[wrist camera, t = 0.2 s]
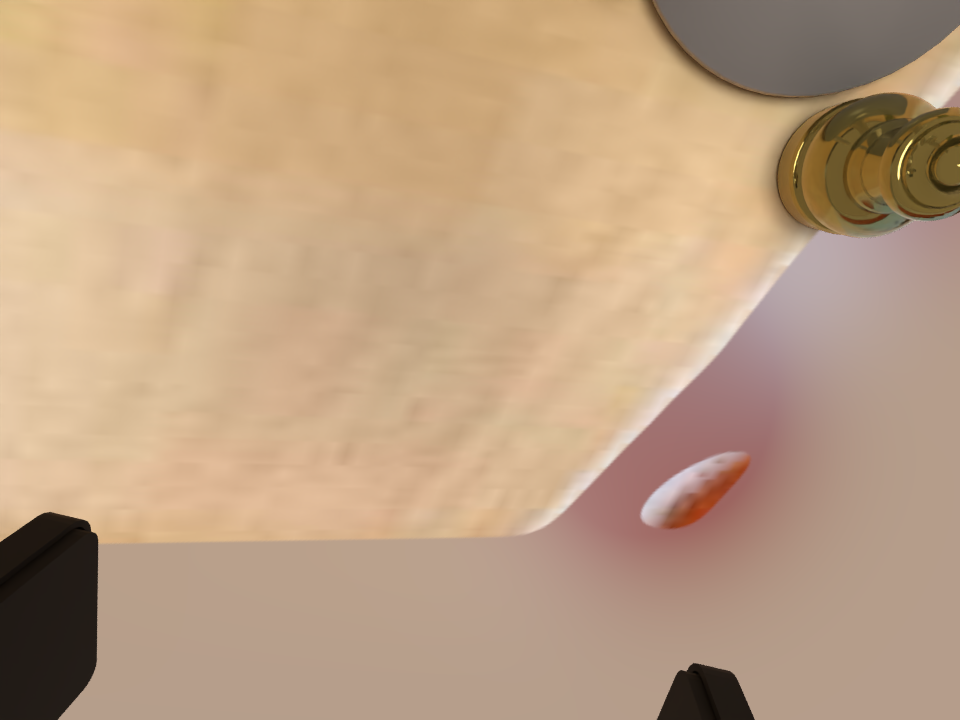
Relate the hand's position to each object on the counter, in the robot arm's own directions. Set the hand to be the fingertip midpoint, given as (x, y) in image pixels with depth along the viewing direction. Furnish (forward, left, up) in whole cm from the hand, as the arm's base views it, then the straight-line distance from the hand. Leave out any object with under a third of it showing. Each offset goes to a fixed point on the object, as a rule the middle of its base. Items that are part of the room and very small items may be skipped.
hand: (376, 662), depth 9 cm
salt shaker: (-12, +19, -31) cm, 38 cm away
